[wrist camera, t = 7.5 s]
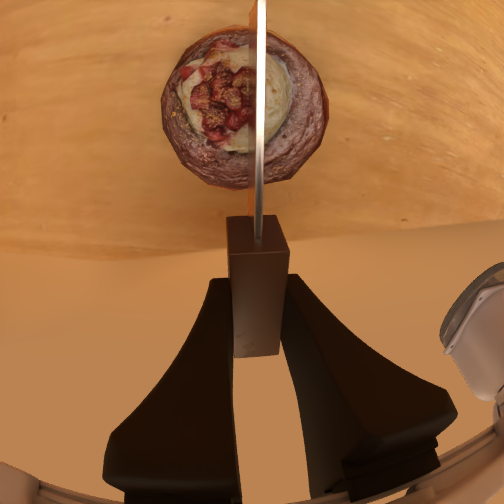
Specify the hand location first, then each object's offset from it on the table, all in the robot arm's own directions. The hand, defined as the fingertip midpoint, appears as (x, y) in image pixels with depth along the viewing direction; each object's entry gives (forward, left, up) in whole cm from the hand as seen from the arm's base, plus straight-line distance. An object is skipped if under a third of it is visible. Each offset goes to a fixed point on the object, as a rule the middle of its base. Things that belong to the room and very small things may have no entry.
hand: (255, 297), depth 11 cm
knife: (+4, 0, -1) cm, 4 cm away
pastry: (+6, 0, -7) cm, 9 cm away
